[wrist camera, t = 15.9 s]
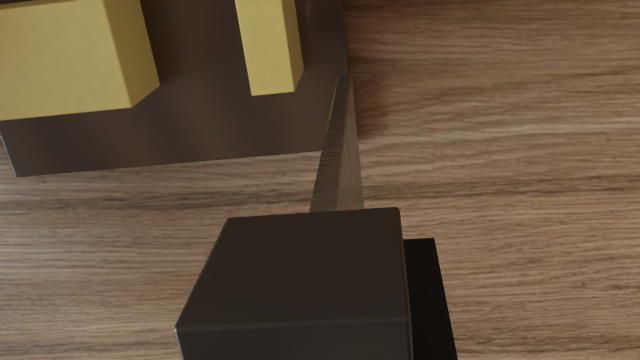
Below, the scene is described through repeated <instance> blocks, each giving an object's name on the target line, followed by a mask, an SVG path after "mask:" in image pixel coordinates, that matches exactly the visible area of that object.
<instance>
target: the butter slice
mask: <svg viewBox="0 0 640 360" xmlns="http://www.w3.org/2000/svg"><path fill="white" fill-rule="evenodd" d="M235 3H236V9H237V14H238V20H239V26H240V32H241V37H242V43H243V49H244V54H245V60H246V66H247V71H248V77H249V83H250V88H251V94H252V96H256V95H266V94H276V93H286V92H294V91H295V89H296V87H297V85H298V83H299V80H300V78H301V76H302V73H303V71H304V68H303V60H302V53H301V45H300V38H299V31H298V23H297V16H296V8H295V1H294V0H235Z"/></svg>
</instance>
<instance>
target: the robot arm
mask: <svg viewBox="0 0 640 360" xmlns="http://www.w3.org/2000/svg"><path fill="white" fill-rule="evenodd" d="M403 247H404V256H405V266H406V276H407V285H408V295H409V305H410V314H411V327H412V343H413V360H458V358H457V353H456V348H455V343H454V338H453V333H452V327H451V322H450V317H449V312H448V307H447V302H446V297H445V292H444V286H443V281H442V276H441V271H440V266H439V261H438V256H437V251H436V245H435V240H434V238H422V239H404V240H403Z"/></svg>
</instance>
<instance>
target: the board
mask: <svg viewBox="0 0 640 360" xmlns="http://www.w3.org/2000/svg"><path fill="white" fill-rule="evenodd" d="M25 1H33V0H0V5H2V4H10V3H17V2H25ZM294 1H295V8H296V16H297V23H298V31H299V38H300V45H301V53H302V60H303V68H304V71H303V73H302V76H301V78H300V80H299V83H298V85H297V87H296V89H295V91H294V92H286V93H276V94H266V95H256V96H252V94H251V88H250V83H249V77H248V71H247V66H246V60H245V54H244V49H243V43H242V37H241V32H240V26H239V20H238V14H237V9H236V3H235V0H140V4H141V8H142V13H143V17H144V21H145V25H146V29H147V33H148V37H149V41H150V46H151V50H152V54H153V58H154V62H155V66H156V70H157V74H158V79H159V83H160V86H159V87H157V88H156V89H155V90H154V91H152V92H151V93H150V94H148V95H147V96H146V97H144V98H143V99H142V100H141V101H139V102H138V103H137V104H135V105H134V106H133V107H131V108H122V109H113V110H103V111H93V112H83V113H73V114H63V115H53V116H43V117H33V118H23V119H13V120H3V121H0V135H1V138H2V141H3V143H4V146H5V149H6V151H7V154H8V157H9V160H10V162H11V165H12V168H13V170H14V173H15V176H16V177H25V176H36V175H48V174H59V173H71V172H82V171H94V170H106V169H117V168H129V167H140V166H152V165H163V164H175V163H186V162H198V161H209V160H221V159H232V158H244V157H255V156H267V155H278V154H290V153H302V152H313V151H322V149H323V144H324V140H325V135H326V130H327V125H328V121H329V116H330V111H331V107H332V102H333V97H334V93H335V88H336V83H337V78H338V77H339V76H348V75H351V74H350V64H349V55H348V45H347V35H346V25H345V15H344V5H343V0H294Z"/></svg>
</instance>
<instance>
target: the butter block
mask: <svg viewBox="0 0 640 360" xmlns="http://www.w3.org/2000/svg"><path fill="white" fill-rule="evenodd" d="M159 86H160V83H159V79H158V74H157V70H156V66H155V62H154V58H153V54H152V50H151V46H150V41H149V37H148V33H147V29H146V25H145V21H144V17H143V13H142V8H141V4H140V0H33V1H25V2H17V3H10V4H2V5H0V121H3V120H13V119H23V118H33V117H43V116H53V115H63V114H73V113H83V112H93V111H103V110H113V109H122V108H131V107H133V106H134V105H135V104H137V103H138V102H139V101H141V100H142V99H143V98H144V97H146V96H147V95H148V94H150V93H151V92H152V91H154V90H155V89H156V88H157V87H159Z"/></svg>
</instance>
